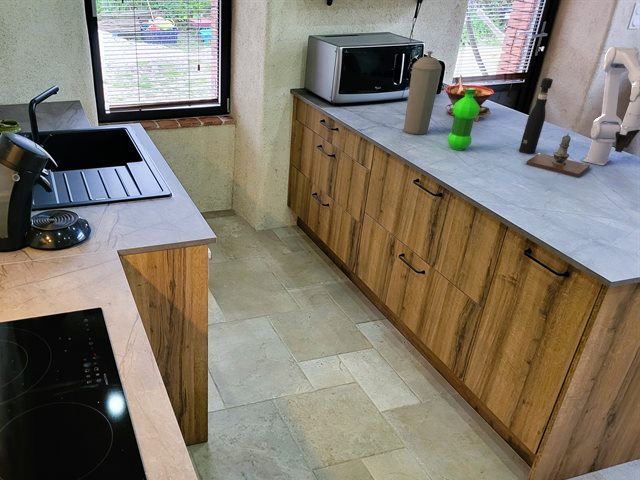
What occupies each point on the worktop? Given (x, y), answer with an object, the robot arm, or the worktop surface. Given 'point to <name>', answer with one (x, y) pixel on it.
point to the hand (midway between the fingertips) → (621, 149)
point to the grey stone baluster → (562, 151)
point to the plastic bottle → (463, 120)
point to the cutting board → (568, 169)
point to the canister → (422, 94)
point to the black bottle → (535, 120)
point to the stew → (480, 96)
